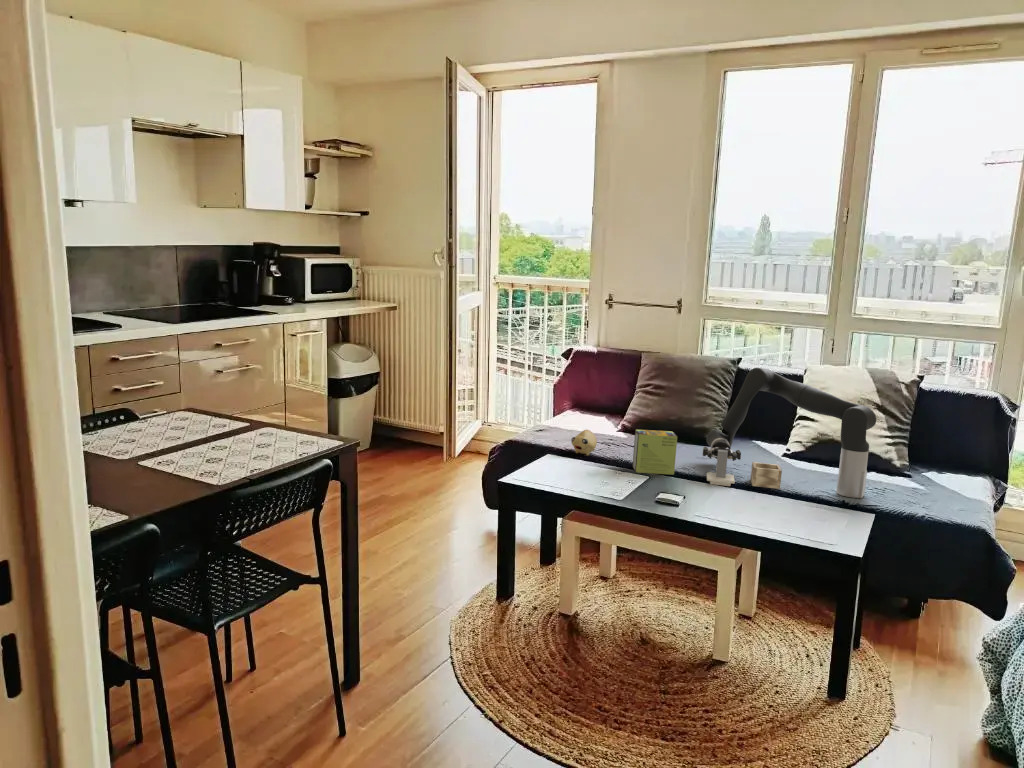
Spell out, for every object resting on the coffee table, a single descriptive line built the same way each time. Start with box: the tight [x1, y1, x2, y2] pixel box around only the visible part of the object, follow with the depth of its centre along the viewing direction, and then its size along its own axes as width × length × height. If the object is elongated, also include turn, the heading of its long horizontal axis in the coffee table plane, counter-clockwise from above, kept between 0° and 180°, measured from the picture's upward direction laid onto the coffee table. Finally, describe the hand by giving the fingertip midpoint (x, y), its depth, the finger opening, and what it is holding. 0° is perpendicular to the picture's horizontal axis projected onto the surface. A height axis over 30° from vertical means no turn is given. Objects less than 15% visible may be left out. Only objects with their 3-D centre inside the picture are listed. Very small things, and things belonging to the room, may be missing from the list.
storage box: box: [750, 461, 783, 490], centre depth 294 cm, size 10×10×7 cm
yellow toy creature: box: [570, 429, 598, 457], centre depth 329 cm, size 10×12×11 cm
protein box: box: [632, 429, 678, 476], centre depth 306 cm, size 10×15×16 cm
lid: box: [706, 449, 736, 487], centre depth 292 cm, size 10×10×12 cm
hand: (722, 457), depth 292 cm, fingers open, 8 cm apart
